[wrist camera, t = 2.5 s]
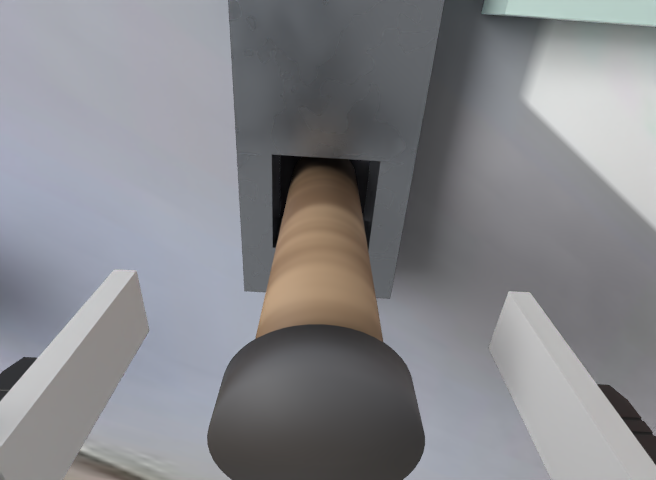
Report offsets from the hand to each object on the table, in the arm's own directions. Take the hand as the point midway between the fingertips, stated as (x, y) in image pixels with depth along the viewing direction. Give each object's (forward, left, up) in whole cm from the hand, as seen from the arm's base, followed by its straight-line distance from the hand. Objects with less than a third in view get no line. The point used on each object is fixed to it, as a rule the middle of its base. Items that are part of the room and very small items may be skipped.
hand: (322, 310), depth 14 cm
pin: (0, 0, -12) cm, 12 cm away
